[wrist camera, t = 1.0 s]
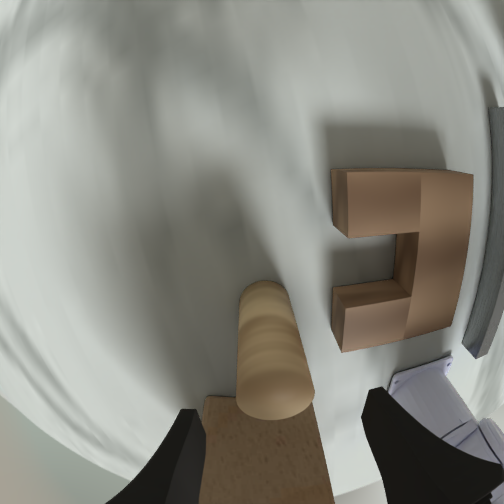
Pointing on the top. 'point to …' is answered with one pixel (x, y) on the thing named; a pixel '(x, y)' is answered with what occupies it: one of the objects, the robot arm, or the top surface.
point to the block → (402, 251)
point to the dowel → (270, 355)
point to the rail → (491, 254)
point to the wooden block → (262, 458)
